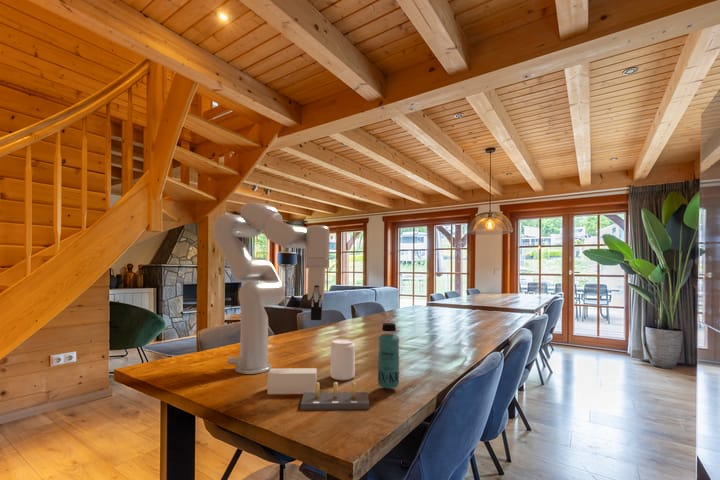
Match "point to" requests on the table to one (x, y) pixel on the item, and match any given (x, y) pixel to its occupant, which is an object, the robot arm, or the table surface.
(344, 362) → the beverage can
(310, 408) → the header
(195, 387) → the table surface
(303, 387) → the white rectangular block
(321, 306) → the robot arm
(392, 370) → the beverage bottle
